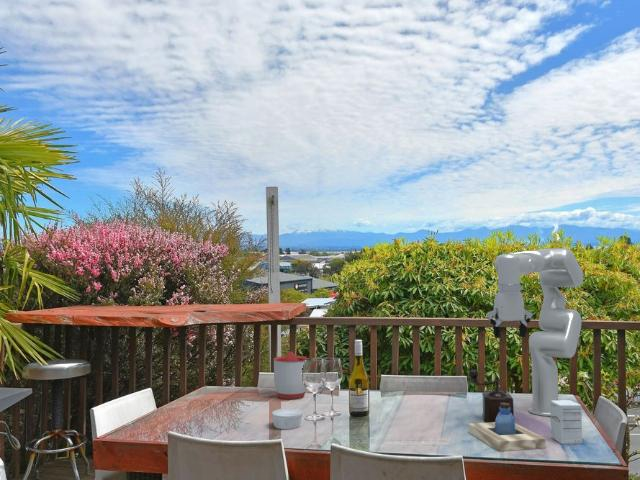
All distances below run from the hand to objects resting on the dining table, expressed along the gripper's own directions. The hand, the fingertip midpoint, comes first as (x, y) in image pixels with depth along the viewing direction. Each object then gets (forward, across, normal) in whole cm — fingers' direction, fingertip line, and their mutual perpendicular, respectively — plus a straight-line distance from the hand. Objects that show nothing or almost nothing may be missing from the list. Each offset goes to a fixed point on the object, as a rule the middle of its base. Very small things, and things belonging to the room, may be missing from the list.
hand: (509, 337), depth 220 cm
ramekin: (+33, +78, -19) cm, 87 cm away
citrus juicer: (+32, +69, -67) cm, 102 cm away
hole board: (+32, +9, +13) cm, 36 cm away
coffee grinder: (+32, +2, -12) cm, 35 cm away
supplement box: (+32, -10, +18) cm, 38 cm away
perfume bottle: (+32, +9, +13) cm, 36 cm away
